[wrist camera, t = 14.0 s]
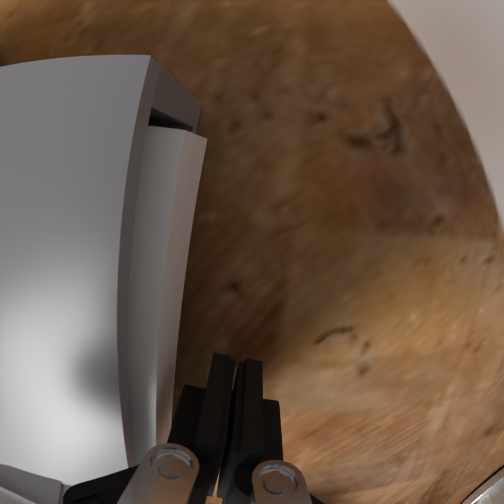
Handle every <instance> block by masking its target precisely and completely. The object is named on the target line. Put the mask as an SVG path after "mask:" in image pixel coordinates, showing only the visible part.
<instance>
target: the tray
mask: <svg viewBox="0 0 504 504" xmlns="http://www.w3.org/2000/svg"><path fill="white" fill-rule="evenodd" d="M206 144H207V139H206V138H204V137H201V136H199V135H196V134H194V133H191V132H189V131H187V130H181V129H173V128H165V127H156V126H148V127H147V133H146V138H145V144H144V150H143V156H142V162H141V169H140V175H139V183H138V190H137V198H136V206H135V215H134V224H133V235H132V246H131V259H130V274H129V295H128V386H129V406H130V420H131V432H132V443H133V453H134V461H135V466H136V465H138V464H140V463H141V461H142V460H143V458H144V456H145V454H146V453H147V452H148V451H149V450H150V448H152V447H154V446H156V445H159V444H163V443H167V440H168V437H169V433H170V430H171V421H172V405H173V391H174V378H175V366H176V354H177V344H178V334H179V324H180V315H181V306H182V298H183V289H184V282H185V274H186V266H187V259H188V252H189V245H190V238H191V231H192V224H193V218H194V212H195V206H196V199H197V193H198V188H199V182H200V176H201V170H202V165H203V159H204V154H205V149H206Z"/></svg>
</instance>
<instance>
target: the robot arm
mask: <svg viewBox="0 0 504 504" xmlns="http://www.w3.org/2000/svg"><path fill="white" fill-rule="evenodd" d="M229 357H230V356H229V355H224V354H218V353H214V355H213V359H212V364H211V368H210V373H209V378H208V382H207V387H206V389H204V388H199V387H194V386H190V385H184V387H183V390H182V394H181V397H180V400H179V403H178V407H177V410H176V413H175V417H174V420H173V423H172V427H171V430H170V433H169V437H168V440H167V443H163V444H159V445H156V446H154V447H152V448H150V450H149V451H148V452H147V453H146V454H145V456H144V458H143V460H142V461H141V463H140V464H138V465H136V466H133V467H130V468H127V469H124V470H121V471H118V472H115V473H112V474H109V475H106V476H102V477H99V478H96V479H92V480H89V481H85V482H82V483H78V484H76V485H73V486H71V485H66V484H63V483H62V481H60V480H56V479H52V478H48V477H44V476H40V475H37V474H33V473H30V472H27V471H24V470H21V469H17V468H14V467H12V466H9V465H4V464H0V504H205V502H206V498H207V496H212V495H213V492H214V488H215V484H216V481H217V477H218V473H219V480H218V489H217V497H218V498H223V502H222V504H324V503H322V502H321V501H320V500H318V499H317V498H315V497H314V496H313V495H311V494H310V493H309V491H308V488H307V485H306V482H305V478H304V476H303V474H302V472H301V471H300V470H299V469H298V468H297V467H296V466H294V465H292V464H291V463H288V462H285V461H283V448H282V434H281V420H280V407H279V402H278V401H276V400H268V399H263V378H262V361H257V360H251V359H246V360H245V363H244V362H239V364H238V368H237V373H236V377H235V381H234V385H233V376H234V367H235V361H233V360H229ZM232 385H233V390H232ZM219 470H220V471H219ZM462 504H504V468H502V469H501V470H500V471H499V472H497V473H496V474H495V475H494V476H492V477H491V478H490V479H489V480H488V481H486V482H485V483H484V484H483V485H481V486H480V487H479V488H478V489H477V490H476V491H475V492H473V493H472V494H471V495H470V496H469V497H468V498H467V499H466V500H465V501H464V502H463V503H462Z"/></svg>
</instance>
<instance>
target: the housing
mask: <svg viewBox="0 0 504 504" xmlns="http://www.w3.org/2000/svg"><path fill="white" fill-rule="evenodd" d="M201 107H202V104H201V103H200V102H199V101H198V100H197V99H196V98H195V97H194V96H193V95H192V94H191V93H190V92H189V91H188V90H187V89H186V88H185V87H184V86H183V85H182V84H181V83H180V82H179V81H178V80H177V79H176V78H175V77H174V76H173V75H172V74H171V73H170V72H168V71H167V70H166V69H165V68H164V67H163V66H162V65H161V64H160V63H159V62H158V61H157V60H156V59H155V58H153V57H152V56H151V55H93V56H77V57H64V58H54V59H46V60H38V61H31V62H24V63H18V64H12V65H7V66H2V67H0V464H4V465H9V466H12V467H14V468H17V469H21V470H24V471H27V472H30V473H33V474H37V475H40V476H44V477H48V478H52V479H56V480H60V481H62V483H63V484H66V485H71V486H73V485H76V484H78V483H82V482H85V481H89V480H92V479H96V478H99V477H102V476H106V475H109V474H112V473H115V472H118V471H121V470H124V469H127V468H130V467H133V466H135V461H134V453H133V443H132V432H131V420H130V406H129V386H128V295H129V274H130V259H131V246H132V235H133V224H134V215H135V206H136V198H137V190H138V183H139V175H140V169H141V162H142V156H143V150H144V144H145V138H146V133H147V127H148V126H156V127H165V128H173V129H181V130H187V131H189V132H191V133H194V134H196V131H197V126H198V121H199V116H200V112H201Z"/></svg>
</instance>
